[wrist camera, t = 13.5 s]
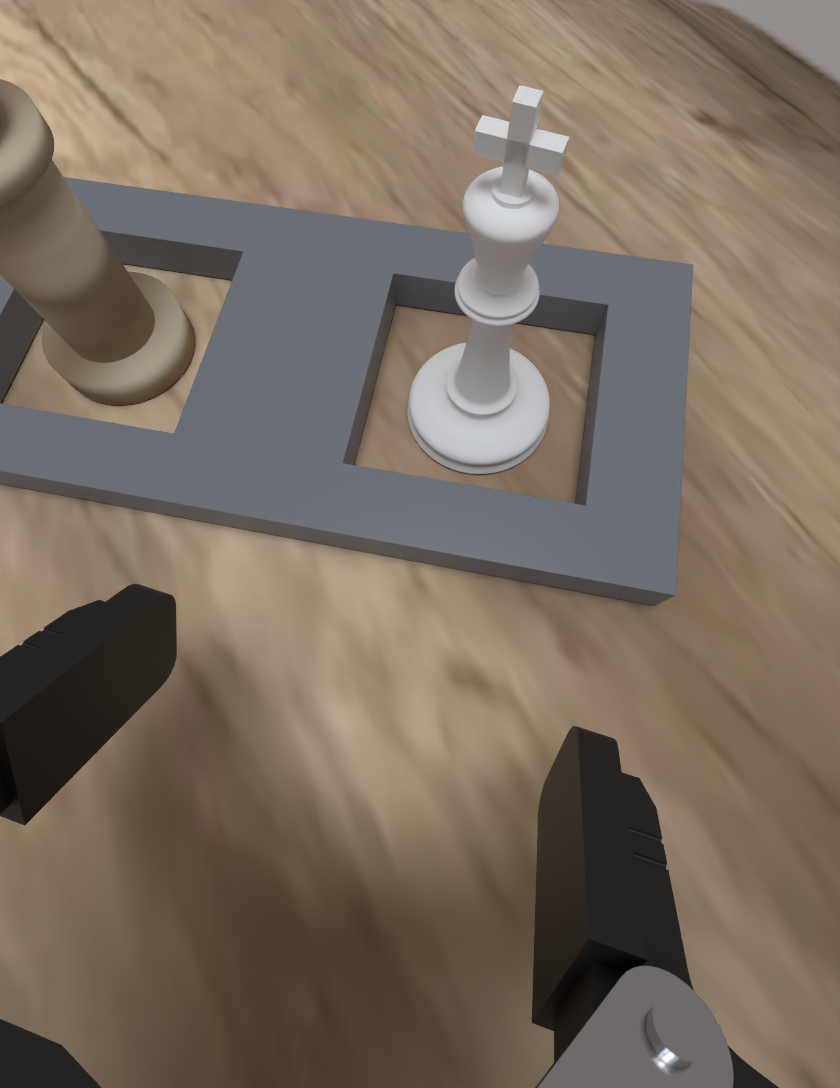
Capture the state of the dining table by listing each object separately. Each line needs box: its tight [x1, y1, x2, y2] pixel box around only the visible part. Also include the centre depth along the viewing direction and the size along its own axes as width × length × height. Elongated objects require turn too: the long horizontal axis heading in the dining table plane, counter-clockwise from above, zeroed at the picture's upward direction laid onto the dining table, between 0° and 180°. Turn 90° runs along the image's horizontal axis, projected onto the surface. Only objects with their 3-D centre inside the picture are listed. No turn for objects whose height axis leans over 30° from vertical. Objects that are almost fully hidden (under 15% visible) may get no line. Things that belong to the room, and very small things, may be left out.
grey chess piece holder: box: [0, 177, 693, 606], centre depth 19 cm, size 26×12×2 cm, turn 79°
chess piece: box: [407, 86, 569, 474], centre depth 14 cm, size 5×5×10 cm
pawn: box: [0, 79, 195, 405], centre depth 15 cm, size 5×5×10 cm
